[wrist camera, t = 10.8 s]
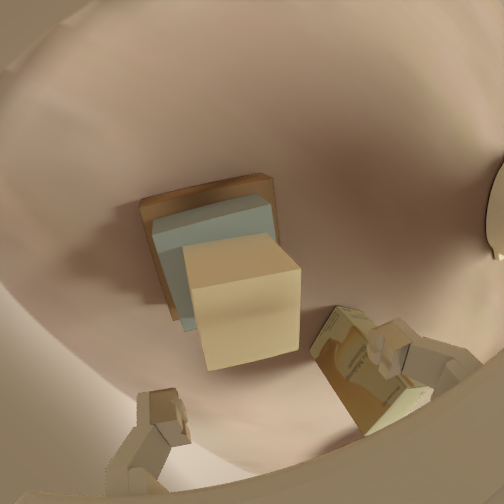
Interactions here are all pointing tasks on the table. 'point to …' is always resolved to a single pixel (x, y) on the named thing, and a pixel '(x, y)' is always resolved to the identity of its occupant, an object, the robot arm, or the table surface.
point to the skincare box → (361, 373)
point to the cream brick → (243, 299)
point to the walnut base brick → (198, 198)
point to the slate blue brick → (205, 239)
